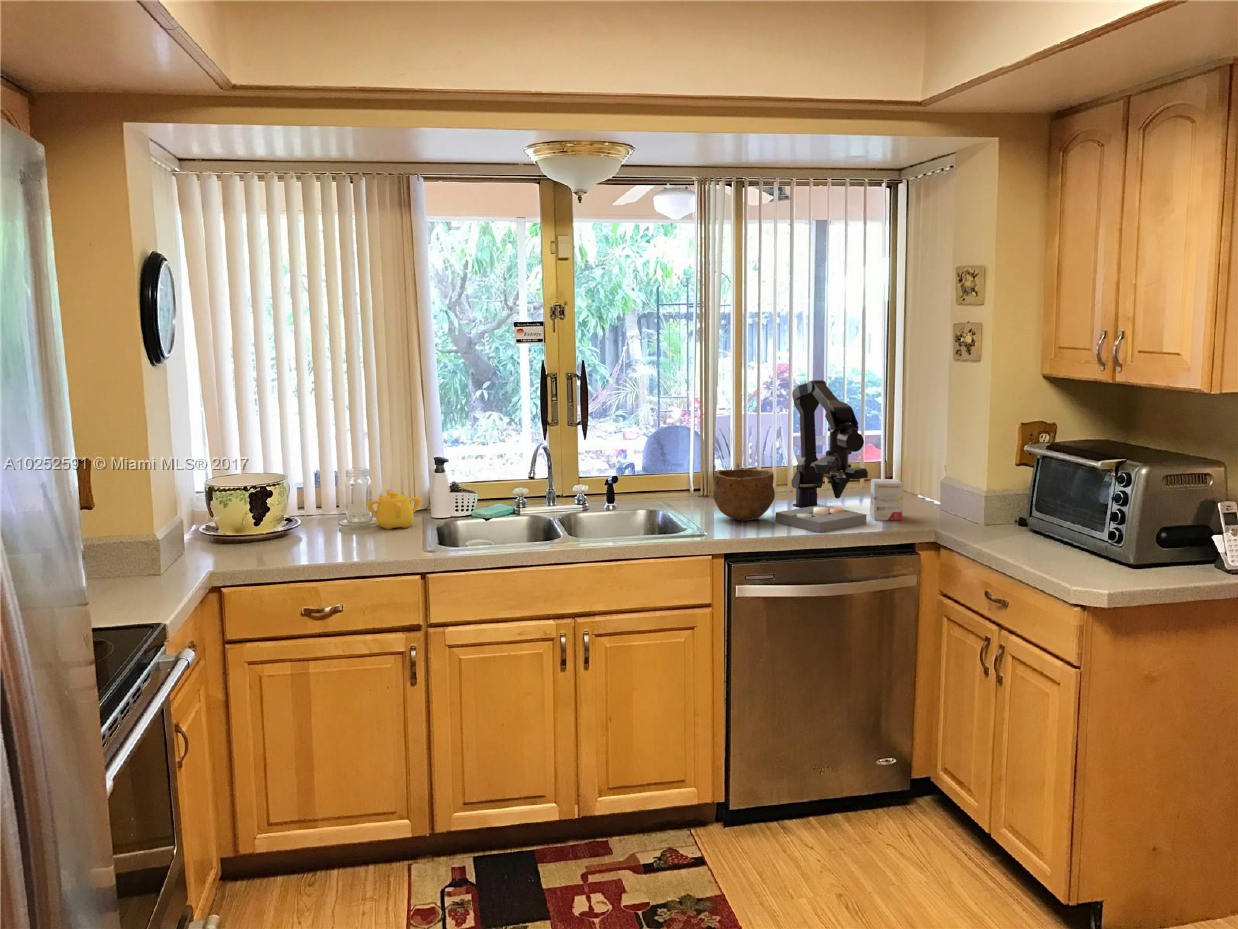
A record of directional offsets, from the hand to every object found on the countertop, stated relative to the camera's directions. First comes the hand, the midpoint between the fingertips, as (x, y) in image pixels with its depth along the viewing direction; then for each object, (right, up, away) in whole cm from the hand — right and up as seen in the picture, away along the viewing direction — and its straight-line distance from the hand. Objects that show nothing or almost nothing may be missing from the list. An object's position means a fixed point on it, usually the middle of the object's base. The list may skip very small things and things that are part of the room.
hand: (837, 498), depth 296 cm
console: (-6, -7, -3) cm, 10 cm away
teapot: (-134, -8, -5) cm, 134 cm away
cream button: (-6, -6, -3) cm, 9 cm away
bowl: (-29, -7, +2) cm, 29 cm away
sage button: (-12, -8, -7) cm, 15 cm away
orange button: (0, -6, +1) cm, 7 cm away
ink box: (+16, -6, +5) cm, 18 cm away
